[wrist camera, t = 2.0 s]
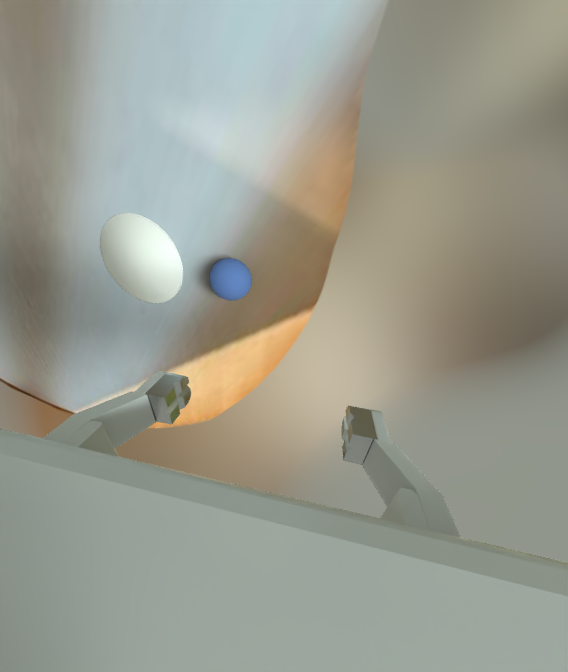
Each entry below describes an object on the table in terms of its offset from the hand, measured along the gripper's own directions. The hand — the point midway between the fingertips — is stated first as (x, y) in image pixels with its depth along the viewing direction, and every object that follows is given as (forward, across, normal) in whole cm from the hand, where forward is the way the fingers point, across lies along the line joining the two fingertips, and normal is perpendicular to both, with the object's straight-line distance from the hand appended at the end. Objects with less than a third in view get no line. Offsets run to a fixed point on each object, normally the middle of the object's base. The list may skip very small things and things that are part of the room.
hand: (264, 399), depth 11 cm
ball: (+20, +10, 0) cm, 22 cm away
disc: (+22, +25, 0) cm, 33 cm away
